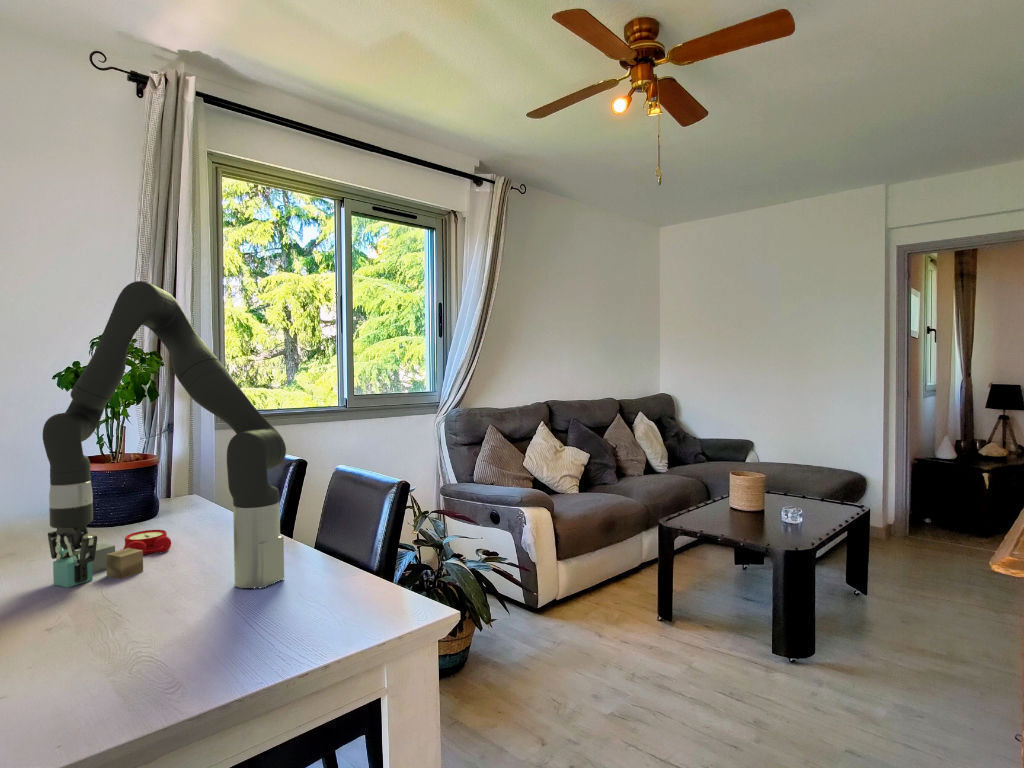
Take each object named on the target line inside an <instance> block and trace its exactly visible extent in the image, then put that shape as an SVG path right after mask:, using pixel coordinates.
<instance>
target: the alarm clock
mask: <svg viewBox="0 0 1024 768" xmlns="http://www.w3.org/2000/svg"><path fill="white" fill-rule="evenodd" d="M167 534H168V533H167V531H166V530H164V529H145V530H142V531H141V530H140V531H137V532H132V533H129V534H127V535H126V536H125V537H124V546H123V549H127V548H132V549H138V550H143V556H144V555H149V554H148V553H150V554H154V553H157V554H161V553H160V552H163V553H165V551H166V552H168V551H169V550H170V549H171V545H172V540H171V538H170V537H169V536H167ZM123 549H122V550H123ZM167 550H168V551H167Z"/></svg>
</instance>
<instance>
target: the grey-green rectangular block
mask: <svg viewBox="0 0 1024 768" xmlns="http://www.w3.org/2000/svg"><path fill="white" fill-rule="evenodd" d="M79 550H81V549H78V551H79ZM113 552H116V545H113V544H110V543H109V544H108V543H103V542H102V543H101V542H100V543H97V545H96V553H95V560H94V561H92V569H93V574H94V573H97V572H100V571H101V572H102V571H104V570H107V563H106V554H109V553H113ZM89 554H90V553H88V556H89ZM79 555H80V554H79Z"/></svg>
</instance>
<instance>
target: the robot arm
mask: <svg viewBox="0 0 1024 768" xmlns="http://www.w3.org/2000/svg"><path fill="white" fill-rule="evenodd" d="M181 307H182V306H181V305H180V304H179V303H178V301H177V299H176V298H175V297H174V296H173V295H172V294H171V293H169V292H168V291H167V290H164V289H162V288H161V287H159V286H156V285H154V284H152V283H149V282H147V281H143V280H138V281H132V282H130V283H128V284H127V285H126V286H125V287H123V289H122V290H121V292H120V293H119V294H118V296H117V299H116V300H115V303H114V305H113V308H112V310H111V313H110V316H109V317H108V318H109V319H107V323H106V325H105V328H104V330H103V332H102V335H101V337H100V339H99V342H98V344H97V347H96V349H95V351H94V352H93V355H92V356H91V358H90V360H89V362H88V363H87V365H86V366H85V368H84V370H83V371H82V373H81V375H80V376H79V378H78V379H77V381H76V382H75V384H74V385H73V387H72V388H71V391H70V398H71V399H72V400H71V401H70V403H69V406H68V407H67V409H66V411H65V412H61V413H56V414H54V415H52V416H50V417H49V418H48V419H47V420H46V421H45V422H44V425H43V428H42V441H43V446H44V450H45V454H46V458H47V460H48V462H49V482H50V484H49V487H50V488H49V495H48V503H49V504H48V507H49V510H48V512H49V526H50V528H52V529H56V530H54V531H48V533H47V540H48V544H49V551H50V557H51V559H52V560H54V559H55V561H57V560H61V559H65V558H68V557H73V561H74V565H75V566H74V569H75V582H76V583H80V582H84V581H86V580H87V579H88V574H87V564H88V563H89V562H92V561H94V560H95V553H96V545H97V544H98V535H97V534H95V535H93V534H92V535H90V534H89V531H88V527H87V526H88V525H89V524H91V523H92V522H93V521H94V505H93V504H94V501H93V500H94V499H93V487H92V481H91V480H92V479H91V474H92V473H91V461H90V458H89V457H88V456H87V455H84V450H83V442H84V441H86V440H88V439H89V438H90V437H91V436H92V435H93V433H94V432H95V430H96V429H97V427H98V426H99V424H100V421H101V419H102V416H103V413H104V411H105V408H106V405H107V403H108V402H109V401H110V400H111V398H112V396H113V395H114V393H115V392H116V390H117V389H118V386H119V385H120V384H121V381H122V379H123V377H124V374H125V370H126V365H127V358H128V351H129V347H130V345H131V341H132V339H133V338H134V336H135V334H136V333H137V331H139V329H140V328H141V326H144V327H146V328H148V329H149V330H150V331H152V332H153V333H154V335H155V336H157V338H158V339H159V340H160V341H161V342H162V344H163V345H164V347H165V348H166V349H167V351H168V353H169V357H170V361H171V365H172V370H173V373H174V375H175V377H176V378H177V380H178V382H179V383H180V385H181V386H182V387H183V388H184V390H185V391H186V393H187V394H188V396H190V398H191V399H192V400H193V401H195V403H196V404H198V405H199V406H201V407H202V408H203V409H204V410H206V411H208V412H209V413H211V414H213V415H214V416H215V417H217V418H219V419H220V420H222V421H223V422H225V424H227V425H228V426H229V427H230V428H231V429H232V430H233V432H234V433H235V435H233V437H231V438H230V439H229V442H228V445H227V448H226V468H227V469H226V471H227V485H228V490H229V494H230V496H231V498H232V504H233V506H232V507H233V514H232V515H233V554H234V555H233V561H234V565H233V566H234V567H233V569H234V586H235V587H236V588H238V587H239V589H243V588H253V589H257V588H256V587H261V588H263V587H265V586H268V585H270V584H272V583H274V582H276V581H278V580H281V579H283V578H284V579H285V550H284V549H285V547H284V546H285V545H284V542H285V540H284V536H281V521H280V520H281V519H280V518H281V516H280V515H281V512H280V490H279V488H278V487H276V486H273V485H271V484H270V483H269V478H268V471H269V470H271V469H273V468H276V467H278V466H280V465H282V463H283V462H284V460H285V458H286V455H287V446H286V444H285V443H286V442H285V441H284V440H285V439H283V436H282V435H281V433H279V432H278V430H277V429H276V428H275V427H274V426H273V425H272V424H271V423H270V422H269V420H267V419H266V417H264V415H262V414H261V412H260V411H259V410H258V409H257V408H256V407H255V406H254V404H253V403H252V402H251V400H250V399H249V398H248V397H247V396H246V394H245V393H244V391H243V390H242V389H241V388H240V386H239V385H238V384H237V383H236V382H235V379H234V378H232V376H231V374H230V372H228V370H227V369H226V367H225V366H224V365H223V364H222V362H221V360H220V359H219V358H218V357H217V356H216V355H215V354H214V353H213V351H212V350H211V349H210V347H209V346H208V345H207V343H206V342H205V341H204V339H202V337H200V336H199V334H198V333H197V332H196V330H195V329H194V327H193V326H192V324H191V323H190V321H189V319H188V318H187V316H186V314H185V312H184V310H183V309H182V308H181ZM79 549H81V550H79ZM88 553H90V554H89V556H88ZM79 554H80V559H79V557H78V555H79ZM284 579H283V580H284ZM281 581H282V580H281ZM84 583H85V582H84ZM274 584H275V583H274ZM272 585H273V584H272ZM270 586H271V585H270ZM254 587H255V588H254ZM268 587H269V586H268ZM261 588H260V589H261ZM265 588H266V587H265ZM263 589H264V588H263Z"/></svg>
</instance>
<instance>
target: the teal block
mask: <svg viewBox="0 0 1024 768" xmlns="http://www.w3.org/2000/svg"><path fill="white" fill-rule="evenodd" d="M78 557H79V559H80V555H78ZM74 566H75V565H74V561H73V557H68V558H65V559H61V560H57V561H56V560H54V561H52V569H53V570H52V571H53V572H52V573H53V575H52V576H53V585H55V586H58V587H59V586H60V587H63V588H71V587H74V586H78V585H80V584H84V583H86V582H89V581H93V577H94V576H93V574H94V573H93V569H92V562H89V563H88V564H87V574H88V579H87V580H86V581H84V582H80V583H76V582H75V569H74Z"/></svg>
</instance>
